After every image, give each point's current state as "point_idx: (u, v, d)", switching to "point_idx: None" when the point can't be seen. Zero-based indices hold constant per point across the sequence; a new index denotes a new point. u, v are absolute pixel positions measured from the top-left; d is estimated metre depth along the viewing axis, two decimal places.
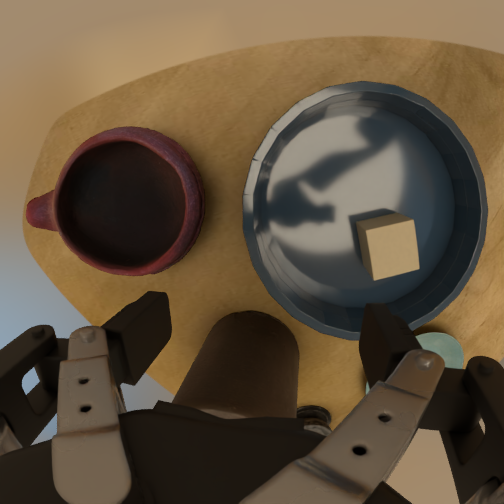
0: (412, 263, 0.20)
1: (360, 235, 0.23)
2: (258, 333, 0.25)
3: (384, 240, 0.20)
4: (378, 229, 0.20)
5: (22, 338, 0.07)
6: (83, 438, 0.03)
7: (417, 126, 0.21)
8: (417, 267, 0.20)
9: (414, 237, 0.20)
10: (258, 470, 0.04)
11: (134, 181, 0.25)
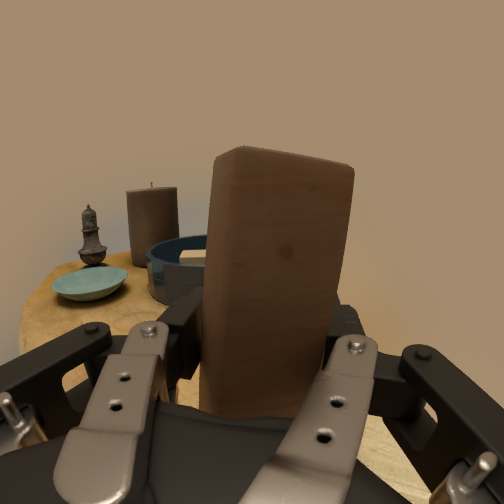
0: (184, 256, 0.40)
1: None
2: None
3: (201, 251, 0.42)
4: None
5: (73, 333, 0.08)
6: (100, 437, 0.03)
7: None
8: (180, 256, 0.39)
9: (198, 256, 0.39)
10: (258, 470, 0.04)
11: None
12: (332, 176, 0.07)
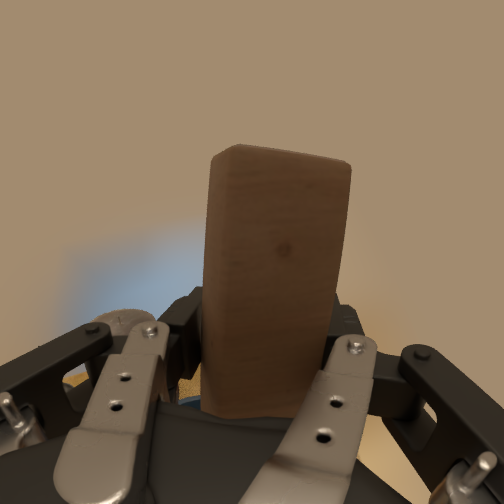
0: None
1: None
2: None
3: None
4: None
5: (74, 334, 0.08)
6: (100, 437, 0.03)
7: None
8: None
9: None
10: (258, 470, 0.04)
11: None
12: (329, 173, 0.07)
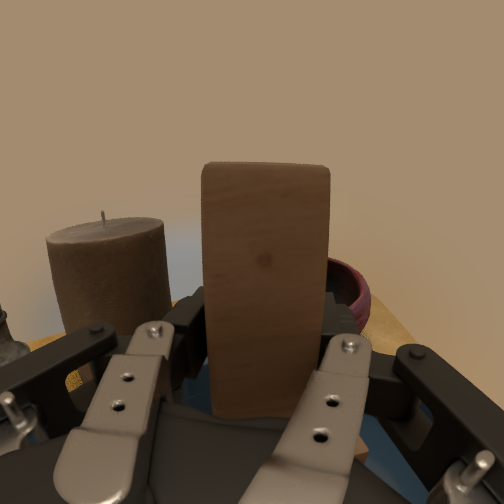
0: None
1: None
2: None
3: None
4: None
5: (78, 333, 0.08)
6: (102, 438, 0.03)
7: None
8: None
9: None
10: (258, 470, 0.04)
11: None
12: (305, 180, 0.07)
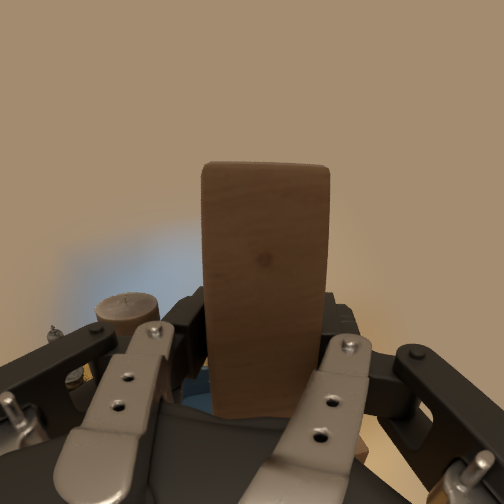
0: None
1: None
2: None
3: None
4: None
5: (78, 333, 0.08)
6: (101, 437, 0.03)
7: None
8: None
9: None
10: None
11: None
12: (305, 179, 0.07)
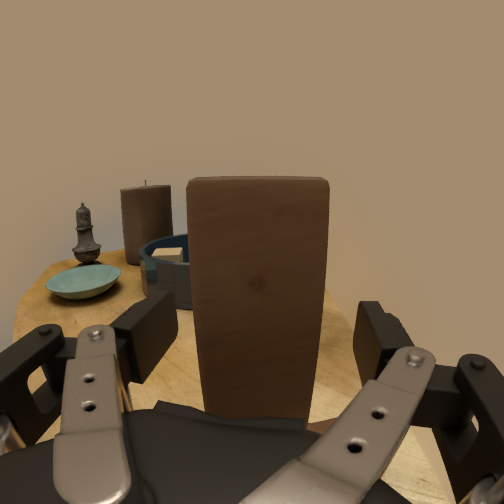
0: (156, 254, 0.40)
1: None
2: None
3: (174, 249, 0.42)
4: (180, 249, 0.42)
5: (29, 337, 0.07)
6: (86, 438, 0.03)
7: None
8: (152, 254, 0.39)
9: (169, 254, 0.39)
10: (258, 470, 0.04)
11: None
12: (301, 195, 0.06)
